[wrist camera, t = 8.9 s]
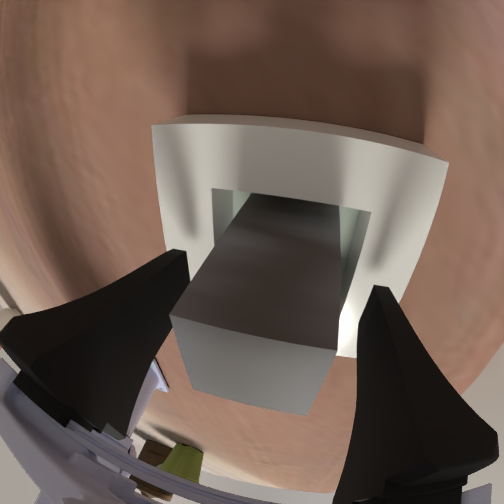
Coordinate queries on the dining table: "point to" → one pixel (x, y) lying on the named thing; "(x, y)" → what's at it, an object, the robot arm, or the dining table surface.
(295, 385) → the peg
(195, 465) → the plant pot
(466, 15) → the dining table surface
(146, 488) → the wooden container
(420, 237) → the socket block
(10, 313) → the lidded jar
